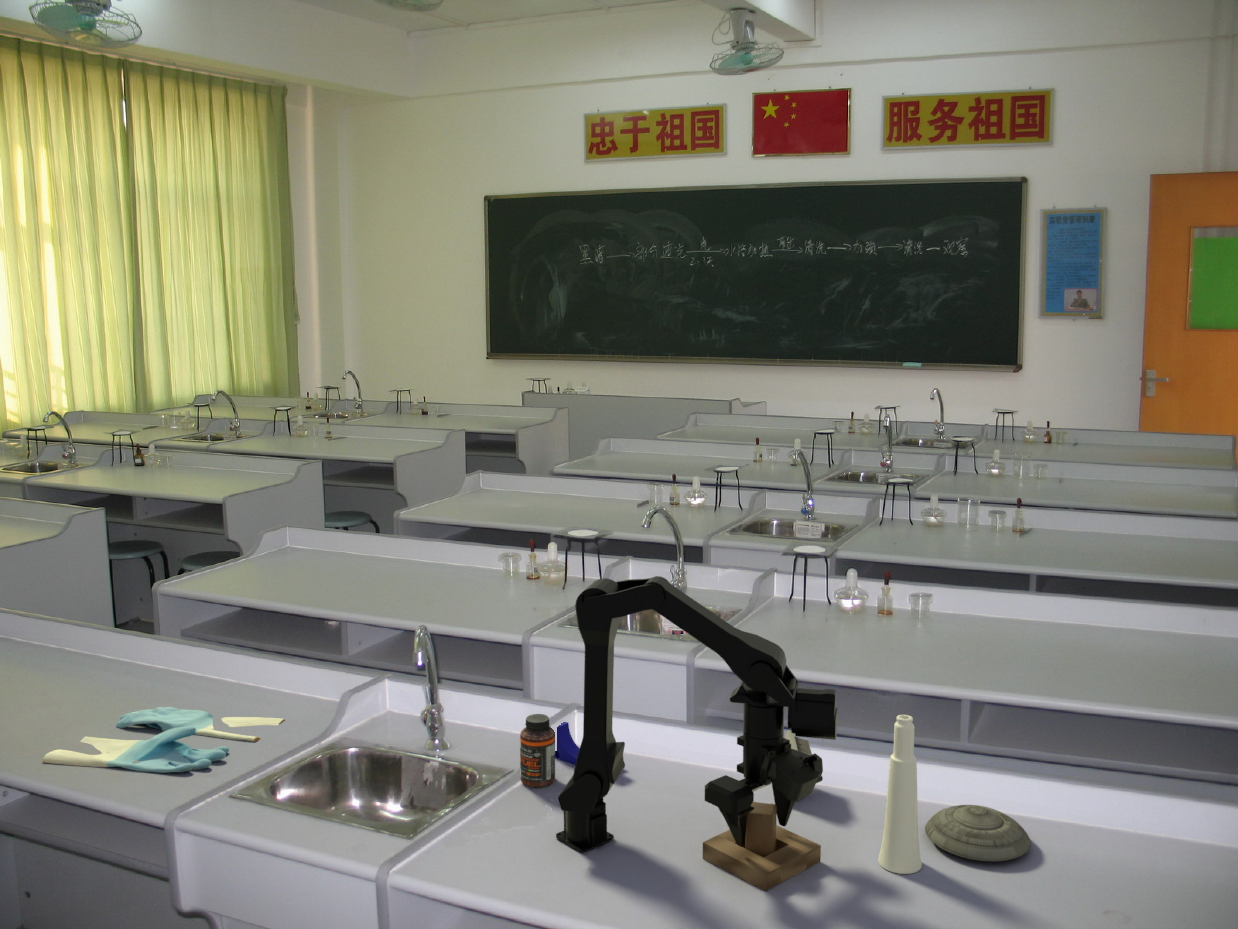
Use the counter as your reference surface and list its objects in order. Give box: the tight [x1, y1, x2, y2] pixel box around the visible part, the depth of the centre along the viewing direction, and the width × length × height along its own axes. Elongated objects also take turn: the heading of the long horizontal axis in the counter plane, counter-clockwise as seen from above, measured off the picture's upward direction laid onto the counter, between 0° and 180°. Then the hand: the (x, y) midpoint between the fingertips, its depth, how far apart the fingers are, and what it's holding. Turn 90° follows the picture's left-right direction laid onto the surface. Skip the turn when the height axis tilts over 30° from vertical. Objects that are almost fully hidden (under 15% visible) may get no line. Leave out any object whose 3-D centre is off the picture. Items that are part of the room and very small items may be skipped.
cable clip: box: [555, 721, 580, 766], centre depth 189 cm, size 12×4×6 cm, turn 50°
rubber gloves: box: [41, 706, 285, 774], centre depth 199 cm, size 27×33×6 cm
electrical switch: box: [784, 729, 813, 802], centre depth 176 cm, size 9×5×9 cm, turn 176°
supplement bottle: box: [519, 713, 556, 788], centre depth 180 cm, size 6×6×11 cm
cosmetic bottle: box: [878, 714, 923, 875], centre depth 151 cm, size 6×6×22 cm
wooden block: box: [745, 801, 777, 857], centre depth 154 cm, size 4×4×8 cm
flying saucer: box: [924, 804, 1032, 862], centre depth 159 cm, size 15×15×6 cm
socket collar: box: [702, 824, 822, 892], centre depth 154 cm, size 12×12×2 cm
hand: (762, 835), depth 153 cm, fingers open, 9 cm apart
